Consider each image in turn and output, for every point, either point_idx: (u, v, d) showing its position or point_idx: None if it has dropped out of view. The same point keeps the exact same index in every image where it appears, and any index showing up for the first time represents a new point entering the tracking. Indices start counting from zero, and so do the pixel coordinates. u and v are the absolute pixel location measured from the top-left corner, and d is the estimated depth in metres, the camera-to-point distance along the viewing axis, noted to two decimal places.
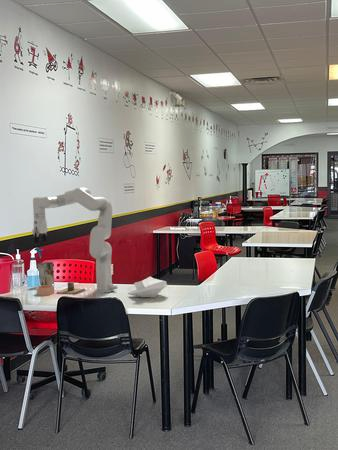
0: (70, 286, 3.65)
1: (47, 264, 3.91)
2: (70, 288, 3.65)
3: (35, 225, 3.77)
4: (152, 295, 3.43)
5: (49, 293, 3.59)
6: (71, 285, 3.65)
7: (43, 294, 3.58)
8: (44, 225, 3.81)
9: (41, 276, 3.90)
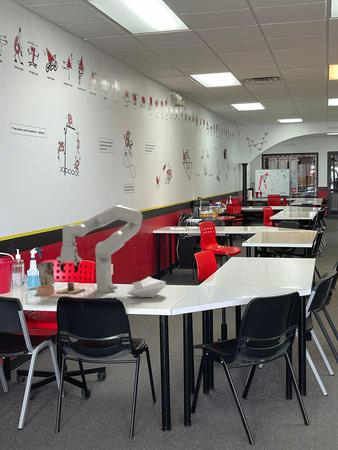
0: (70, 286, 3.65)
1: (47, 264, 3.91)
2: (70, 288, 3.65)
3: (75, 254, 3.64)
4: (151, 295, 3.43)
5: (49, 293, 3.59)
6: (71, 285, 3.65)
7: (43, 294, 3.58)
8: None
9: (41, 276, 3.90)
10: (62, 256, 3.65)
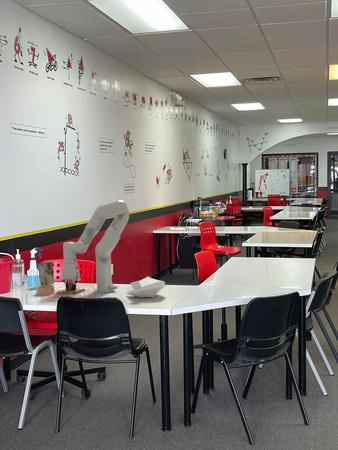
0: (70, 286, 3.65)
1: (47, 264, 3.91)
2: (70, 288, 3.65)
3: (77, 270, 3.65)
4: (150, 295, 3.43)
5: (49, 293, 3.59)
6: (71, 285, 3.65)
7: (43, 294, 3.58)
8: None
9: (41, 276, 3.90)
10: (63, 273, 3.66)
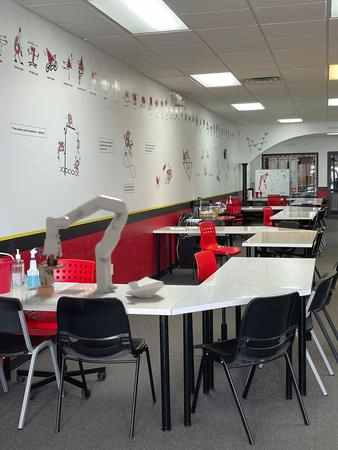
0: (52, 261, 3.61)
1: None
2: (51, 263, 3.61)
3: (59, 246, 3.61)
4: (148, 295, 3.43)
5: (49, 293, 3.59)
6: (53, 260, 3.61)
7: (43, 294, 3.58)
8: None
9: (41, 276, 3.90)
10: (45, 248, 3.62)
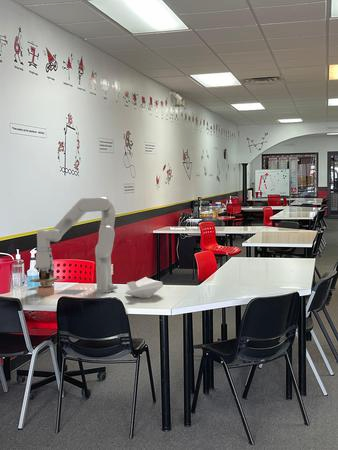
0: (44, 274, 3.60)
1: None
2: (43, 276, 3.60)
3: (50, 259, 3.60)
4: (146, 295, 3.42)
5: (49, 293, 3.59)
6: (45, 273, 3.60)
7: (43, 294, 3.58)
8: None
9: None
10: (37, 261, 3.61)
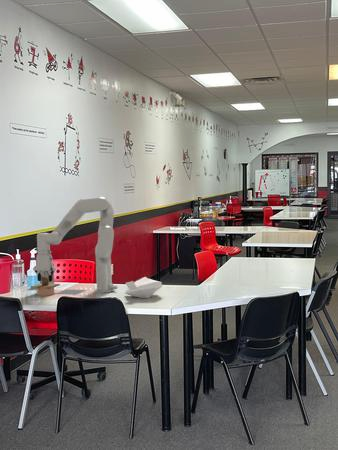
0: (44, 281, 3.61)
1: None
2: (44, 283, 3.61)
3: (51, 262, 3.60)
4: (146, 295, 3.42)
5: (49, 293, 3.59)
6: (45, 280, 3.61)
7: (43, 294, 3.58)
8: None
9: (41, 276, 3.90)
10: (37, 265, 3.61)
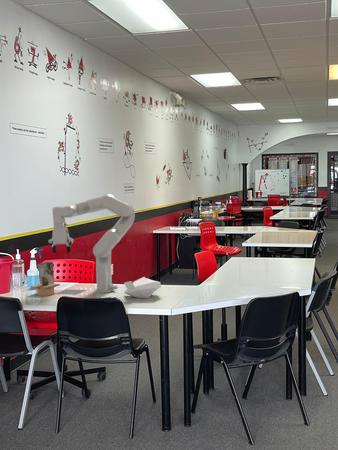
0: (44, 281, 3.61)
1: (47, 264, 3.91)
2: (44, 283, 3.61)
3: (67, 234, 3.67)
4: (144, 295, 3.42)
5: (49, 293, 3.59)
6: (45, 280, 3.61)
7: (43, 294, 3.58)
8: None
9: (41, 276, 3.90)
10: (54, 238, 3.68)
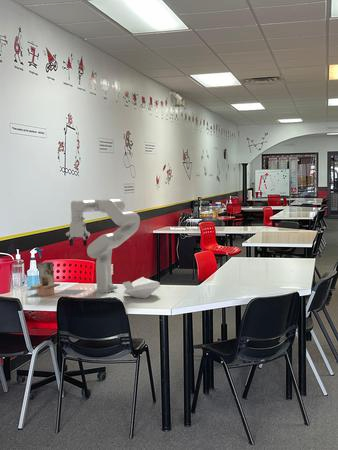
0: (44, 281, 3.61)
1: (47, 264, 3.91)
2: (44, 283, 3.61)
3: (84, 228, 3.76)
4: (143, 295, 3.42)
5: (49, 293, 3.59)
6: (45, 280, 3.61)
7: (43, 294, 3.58)
8: None
9: (41, 276, 3.90)
10: (71, 231, 3.77)
